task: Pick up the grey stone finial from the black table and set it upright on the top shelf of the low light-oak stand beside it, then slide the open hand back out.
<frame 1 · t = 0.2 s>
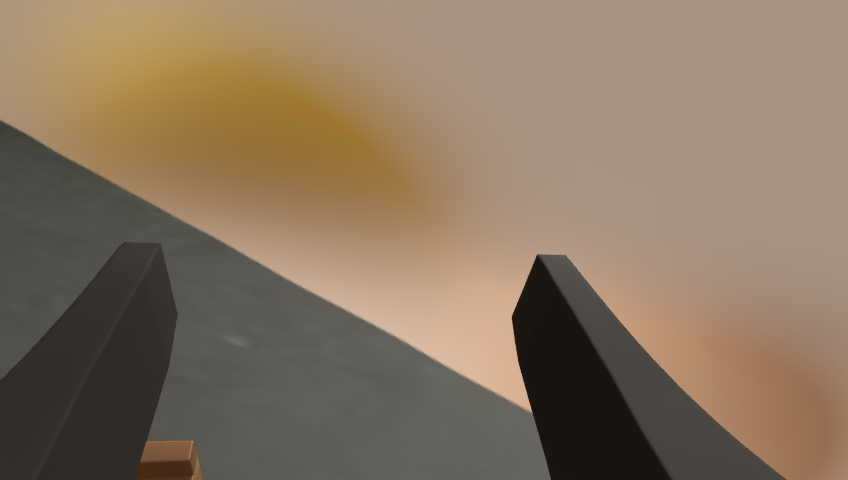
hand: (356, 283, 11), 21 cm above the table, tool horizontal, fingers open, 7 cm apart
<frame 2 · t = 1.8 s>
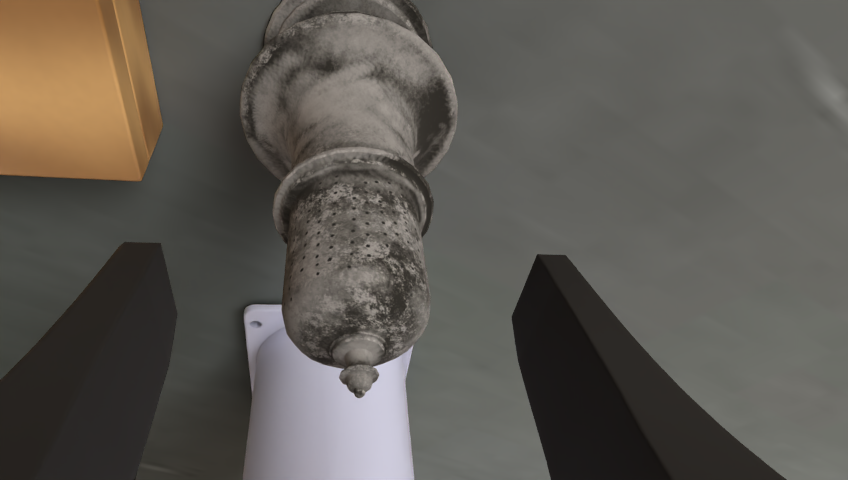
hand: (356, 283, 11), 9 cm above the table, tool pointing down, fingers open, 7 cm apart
grey stone finial: (349, 56, 18), on the table
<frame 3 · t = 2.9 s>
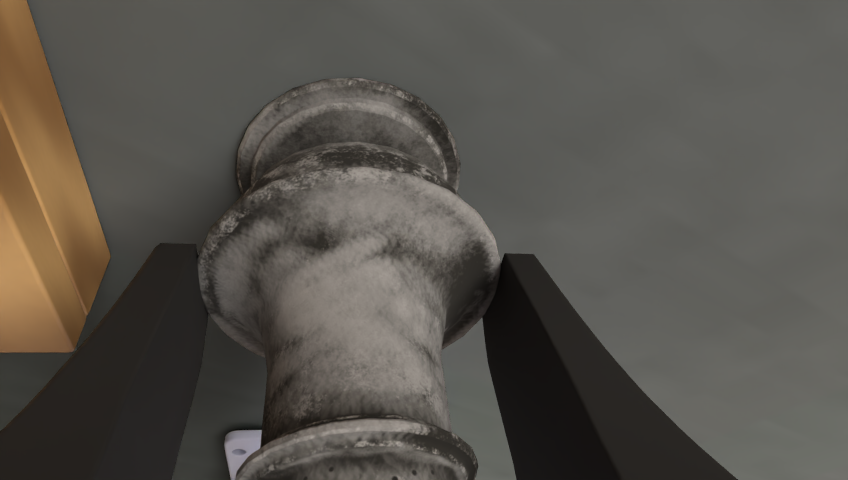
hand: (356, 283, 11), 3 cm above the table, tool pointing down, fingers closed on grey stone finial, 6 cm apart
grey stone finial: (351, 172, 14), on the table, touching gripper
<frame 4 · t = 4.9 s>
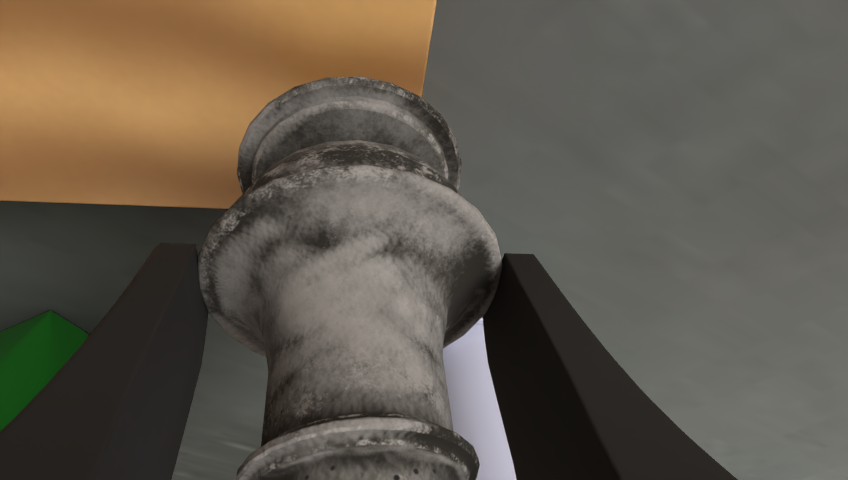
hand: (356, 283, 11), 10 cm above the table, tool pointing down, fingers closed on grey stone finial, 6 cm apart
milk carton: (59, 365, 29), on the table
grey stone finial: (351, 171, 14), point 7 cm above the table, touching gripper
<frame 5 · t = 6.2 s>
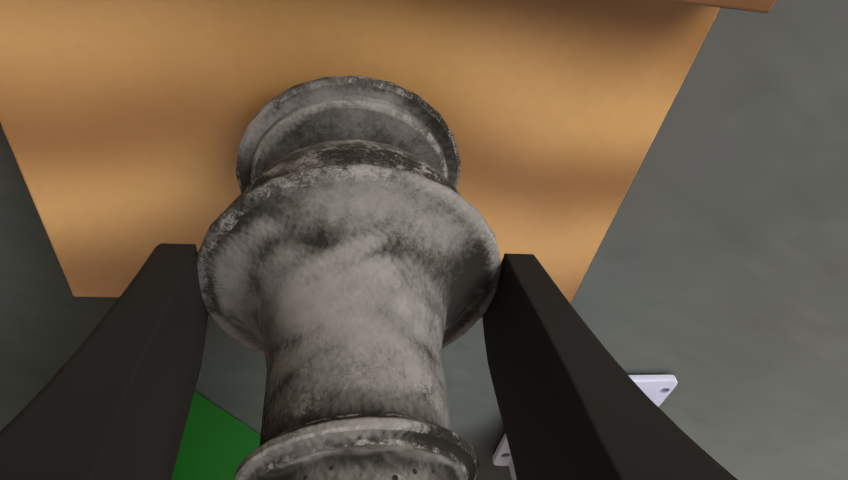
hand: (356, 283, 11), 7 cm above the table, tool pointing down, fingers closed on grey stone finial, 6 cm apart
milk carton: (168, 426, 29), on the table
grey stone finial: (351, 170, 14), point 4 cm above the table, touching gripper
shelf stand: (350, 90, 17), on the table
when the fingers open (6 cm above the table, at t = 7.2 s): grey stone finial stays where it is, resting on shelf stand.
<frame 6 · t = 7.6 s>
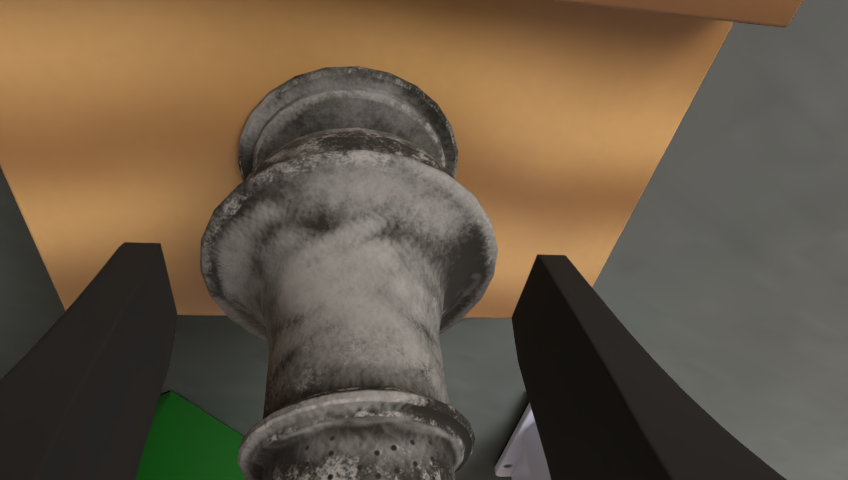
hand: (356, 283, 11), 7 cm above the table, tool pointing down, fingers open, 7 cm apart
milk carton: (166, 438, 29), on the table
grey stone finial: (350, 160, 14), point 3 cm above the table, touching shelf stand
shelf stand: (351, 102, 16), on the table
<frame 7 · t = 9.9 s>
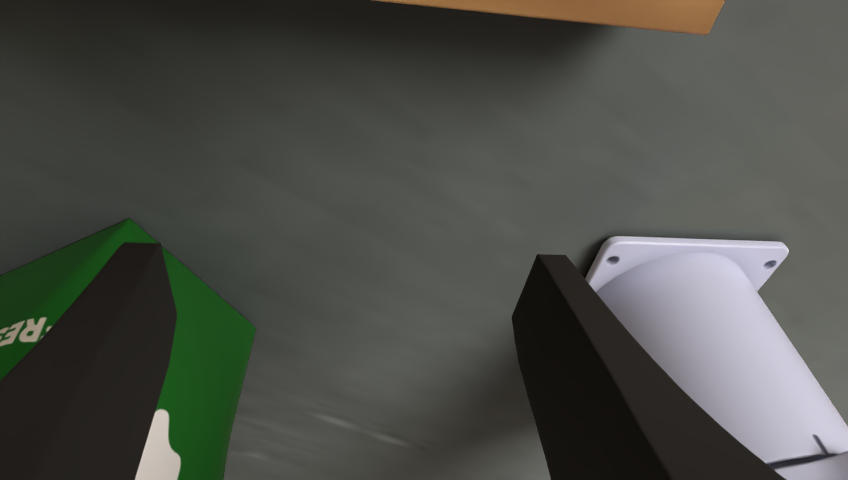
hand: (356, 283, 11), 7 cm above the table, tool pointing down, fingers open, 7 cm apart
milk carton: (128, 305, 22), on the table
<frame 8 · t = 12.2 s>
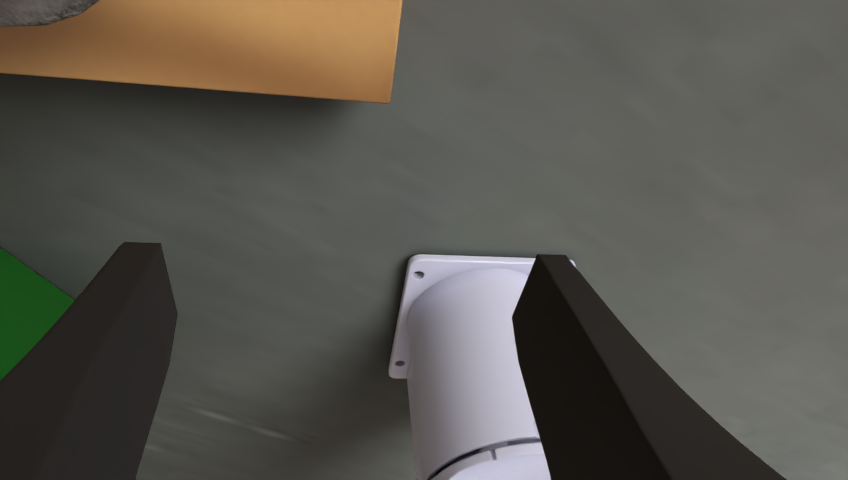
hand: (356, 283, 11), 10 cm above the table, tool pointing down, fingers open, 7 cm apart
milk carton: (4, 311, 26), on the table
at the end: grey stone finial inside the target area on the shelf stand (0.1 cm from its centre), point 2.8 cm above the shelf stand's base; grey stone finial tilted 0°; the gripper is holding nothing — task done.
